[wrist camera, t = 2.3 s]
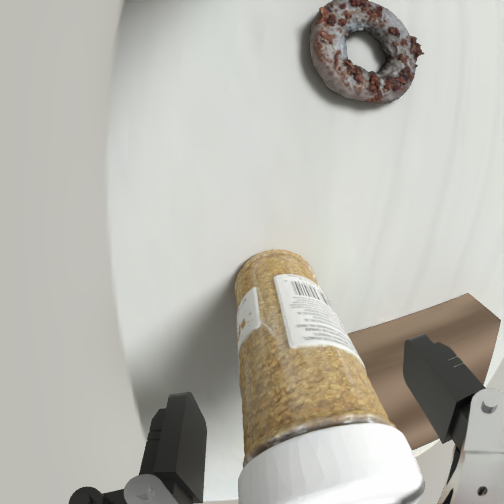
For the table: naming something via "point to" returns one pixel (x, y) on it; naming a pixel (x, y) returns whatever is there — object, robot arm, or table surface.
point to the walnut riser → (437, 330)
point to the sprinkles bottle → (310, 399)
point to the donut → (352, 76)
